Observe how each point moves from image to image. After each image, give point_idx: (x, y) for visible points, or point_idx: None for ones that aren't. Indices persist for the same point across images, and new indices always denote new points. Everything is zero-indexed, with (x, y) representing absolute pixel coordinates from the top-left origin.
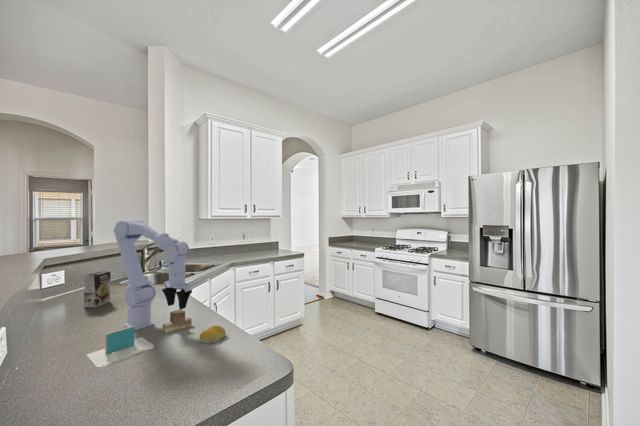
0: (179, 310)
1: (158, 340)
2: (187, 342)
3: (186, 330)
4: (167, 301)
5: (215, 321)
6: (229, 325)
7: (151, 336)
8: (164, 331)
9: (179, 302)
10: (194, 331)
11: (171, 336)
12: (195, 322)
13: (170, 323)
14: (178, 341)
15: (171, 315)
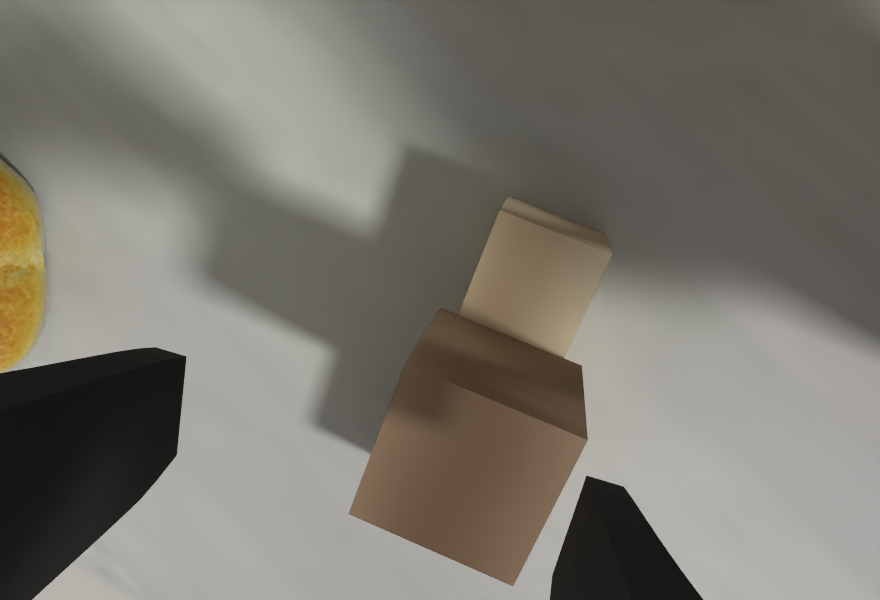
0: (468, 524)
1: (443, 5)
2: (90, 81)
3: (345, 337)
4: (631, 534)
5: (234, 595)
6: None
7: (638, 70)
8: (554, 216)
9: (22, 385)
10: (241, 336)
11: (381, 152)
12: None
13: (522, 312)
14: (196, 68)
15: (537, 392)
